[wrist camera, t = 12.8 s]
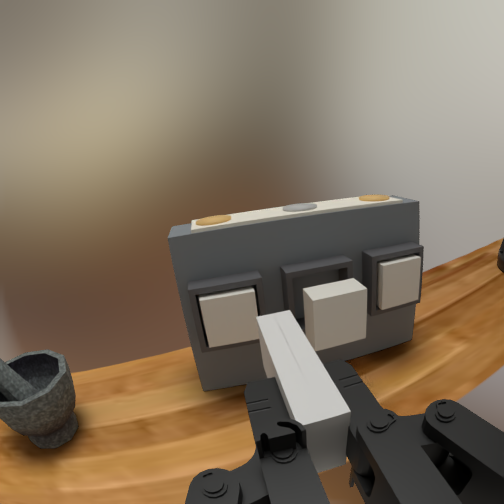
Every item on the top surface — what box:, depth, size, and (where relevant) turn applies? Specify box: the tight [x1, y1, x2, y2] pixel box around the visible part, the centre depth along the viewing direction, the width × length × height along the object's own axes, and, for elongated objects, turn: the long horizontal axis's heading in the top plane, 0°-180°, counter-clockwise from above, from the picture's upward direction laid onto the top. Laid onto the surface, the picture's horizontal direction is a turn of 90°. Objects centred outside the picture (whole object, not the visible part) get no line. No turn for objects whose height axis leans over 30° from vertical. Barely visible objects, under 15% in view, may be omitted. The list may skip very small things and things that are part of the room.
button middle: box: [303, 278, 367, 351], centre depth 25 cm, size 4×2×4 cm, turn 99°
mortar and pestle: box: [0, 350, 78, 448], centre depth 22 cm, size 11×9×12 cm
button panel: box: [168, 195, 424, 391], centre depth 31 cm, size 24×7×16 cm, turn 99°
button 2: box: [376, 254, 421, 310], centre depth 29 cm, size 4×2×4 cm, turn 99°
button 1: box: [199, 285, 259, 348], centre depth 27 cm, size 4×2×4 cm, turn 99°
